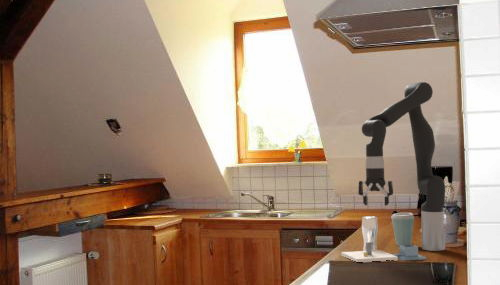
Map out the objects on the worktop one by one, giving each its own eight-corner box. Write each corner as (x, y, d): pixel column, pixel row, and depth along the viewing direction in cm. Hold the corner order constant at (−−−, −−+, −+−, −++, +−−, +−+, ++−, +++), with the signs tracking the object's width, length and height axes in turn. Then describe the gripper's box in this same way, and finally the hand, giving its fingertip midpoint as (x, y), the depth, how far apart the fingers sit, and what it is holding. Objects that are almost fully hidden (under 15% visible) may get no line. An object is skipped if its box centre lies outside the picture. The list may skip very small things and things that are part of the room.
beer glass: (378, 249, 257) (378, 216, 257) (377, 252, 250) (377, 218, 250) (362, 249, 259) (362, 215, 259) (361, 251, 252) (361, 217, 252)
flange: (413, 255, 243) (413, 243, 243) (425, 259, 233) (425, 247, 233) (391, 256, 240) (391, 244, 241) (403, 260, 231) (403, 248, 231)
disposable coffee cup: (405, 247, 260) (405, 215, 261) (386, 245, 269) (386, 213, 269) (419, 245, 267) (419, 213, 267) (400, 242, 275) (399, 211, 276)
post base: (380, 253, 247) (380, 238, 247) (397, 260, 231) (397, 244, 231) (341, 255, 243) (341, 240, 243) (356, 262, 227) (356, 246, 227)
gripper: (393, 166, 242) (394, 204, 241) (360, 166, 248) (361, 204, 248) (389, 167, 235) (390, 206, 235) (356, 167, 241) (357, 206, 241)
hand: (376, 205), depth 241 cm, fingers open, 8 cm apart
